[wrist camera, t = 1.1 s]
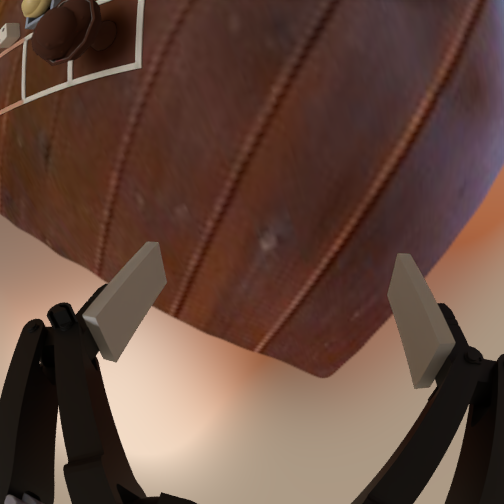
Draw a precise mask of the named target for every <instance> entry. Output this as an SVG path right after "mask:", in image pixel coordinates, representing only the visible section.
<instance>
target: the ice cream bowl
mask: <svg viewBox="0 0 504 504" xmlns="http://www.w3.org/2000/svg"><path fill="white" fill-rule="evenodd" d="M116 33H117V30H116V24H115V23H113V22H111V21H110V20H107V21H103V22H102V20H101V14H100V7H99V5H98V3H97V2H96V1H94V0H61V2H60V3H59V4H58V5H57V6H56V7H54V8H52V9H50V10H48V11H47V12H46V13H45V14H44V15H43V16H42V17H41V18H40V20H39V22H38V23H37V25H36V27H35V28H34V31H33V34H32V47H33V50H34V51H35V53H36V54H37V55H39V56H40V57H41V58H42V59H44V60H45V61H46V62H48V63H49V64H50V65H51V66H53V65H57V64H61V63H64V62H68V61H71V60H75V59H77V58H79V57H80V56H81V55H82V54H83V53H84V52H85V51H86V50H87V49H88V48H89V47H90V46H91V47H92V48H93V49H95V50H96V51H99V50H104V49H106V48H107V47H108V46H109V45H110V44H111V43H112V42H113V41H114V38H115V36H116Z"/></svg>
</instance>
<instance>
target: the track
mask: <svg viewBox="0 0 504 504" xmlns="http://www.w3.org/2000/svg"><path fill="white" fill-rule="evenodd" d="M109 1H111V0H98V1H96V2H97V3H98V5H101V4H103V3H106V2H109ZM144 5H145V0H138V10H137V25H136V50H135V63H132V64H128V65H123V66H119V67H115V68H111V69H108V70H104V71H100V72H97V73H93V74H90V75H87V76H83V77H80V78H77V79H74V80H73V60H71V61H68V82H65V83H62V84H60V85H57V86H54V87H52V88H49V89H47V90H44V91H42V92H39V93H37V94H34V95H32V96H30V97H27V98H26V55H27V42H28V40H29V39H30V38H32V34H33V33H31V34H29V35H28V36H26V37H25V38H23V39H21V40H20V41H18V42H17V43H15V44H14V45H12V46H11V47H9V48H8V49H6V50H5V51H3V52H2V53H1V54H0V58H1V57H2V56H4V55H5V54H7V53H8V52H10V51H11V50H13V49H14V48H16V47H17V46H19V45H21V44H22V43H24V45H23V60H22V100H21V101H18V102H16V103H14V104H12V105H10V106H8V107H6V108H4V109H2V110H0V115H1V114H3V113H5V112H7V111H10V110H12V109H14V108H16V107H18V106H21V105H23V104H25V103H28V102H30V101H32V100H35V99H37V98H40V97H42V96H45V95H48V94H50V93H53V92H56V91H59V90H61V89H64V88H67V87H70V86H73V85H77V84H80V83H83V82H86V81H90V80H93V79H97V78H101V77H104V76H108V75H112V74H116V73H121V72H125V71H130V70H134V69H139V68H142V43H143V20H144Z"/></svg>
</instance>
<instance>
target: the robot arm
mask: <svg viewBox="0 0 504 504" xmlns="http://www.w3.org/2000/svg"><path fill="white" fill-rule="evenodd" d="M166 283H167V281H166V276H165V272H164V267H163V262H162V257H161V252H160V247H159V242H146V243H145V244H144V245H143V247H142V248H141V249H140V250H139V251H138V252H137V253H136V254H135V255H134V256H133V257H132V258H131V259H130V260H129V262H128V263H127V264H126V265H125V266H124V267H123V268H122V269H121V270H120V271H119V273H118V274H117V275H116V276H115V277H114V278H113V279H112V280H111V282H110V283H109V284H105V285H103V286H102V287H100V288H98V289H97V291H96V292H95V293H94V294H93V296H92V297H90V299H89V300H88V301H87V302H86V303H85V304H84V305H83V307H82V308H81V309H80V310H79V311H78V313H77V314H76V315H75V313H74V311H73V309H72V307H71V305H70V304H68V303H59V304H57V305H55V306H53V307H52V308H51V309H50V310H49V311H48V313H47V317H48V319H49V321H50V323H51V325H52V327H45V325H44V323H43V321H42V320H40V319H33V320H31V321H29V322H28V323H27V324H26V325H25V326H24V328H23V330H22V332H21V335H20V337H19V340H18V343H17V346H16V348H15V351H14V354H13V357H12V360H11V363H10V366H9V370H8V373H7V376H6V380H5V383H4V386H3V390H2V394H1V398H0V504H53V502H54V459H55V438H56V424H57V414H58V405H59V412H60V419H61V425H62V431H63V437H64V442H65V447H66V452H67V456H68V464H66V465H64V468H63V471H64V477H65V480H66V484H67V488H68V492H69V495H70V498H71V502H72V504H197V503H195V502H193V501H191V500H187V499H183V498H179V497H176V496H172V495H169V494H165V493H162V492H161V494H160V497H146V495H145V493H144V491H143V490H142V488H141V487H140V485H139V484H138V483H137V481H136V479H135V477H134V475H133V473H132V470H131V468H130V466H129V463H128V460H127V458H126V455H125V452H124V449H123V447H122V444H121V441H120V438H119V435H118V432H117V429H116V426H115V423H114V420H113V416H112V413H111V410H110V406H109V403H108V399H107V395H106V392H105V388H104V384H103V380H102V375H101V371H100V367H99V362H98V359H97V357H96V355H97V353H98V352H99V351H100V353H101V355H102V357H103V358H104V359H106V360H109V361H113V362H117V360H118V359H119V357H120V355H121V354H122V352H123V351H124V349H125V347H126V346H127V344H128V342H129V340H130V339H131V337H132V336H133V334H134V333H135V331H136V329H137V328H138V326H139V324H140V323H141V321H142V320H143V318H144V317H145V315H146V314H147V312H148V310H149V309H150V307H151V306H152V304H153V303H154V301H155V300H156V298H157V297H158V295H159V294H160V292H161V290H162V289H163V287H164V286H165V284H166ZM387 296H388V299H389V302H390V305H391V308H392V311H393V314H394V317H395V320H396V323H397V327H398V330H399V333H400V337H401V339H402V343H403V347H404V350H405V354H406V357H407V361H408V365H409V369H410V373H411V377H412V381H413V385H414V388H415V389H418V388H428V387H430V386H431V384H432V383H433V381H434V380H436V383H437V387H436V389H435V390H434V391H433V393H432V394H431V396H430V397H429V399H428V402H427V404H426V406H425V408H424V409H423V411H422V412H421V414H420V416H419V417H418V419H417V420H416V422H415V423H414V425H413V426H412V428H411V429H410V431H409V432H408V434H407V435H406V437H405V438H404V440H403V441H402V442H401V444H400V445H399V447H398V448H397V449H396V451H395V452H394V454H393V455H392V456H391V457H390V459H389V460H388V462H387V463H386V464H385V465H384V466H383V468H382V469H381V470H380V471H379V473H378V474H377V475H376V476H375V477H374V479H373V480H372V481H371V482H370V483H369V484H368V486H367V487H366V488H365V489H364V490H363V491H362V492H361V493H360V495H359V496H358V497H357V498H356V499H355V500H354V501H353V502H352V503H351V504H413V503H414V502H415V500H416V499H417V498H418V496H419V495H420V493H421V492H422V490H423V489H424V487H425V486H426V484H427V483H428V481H429V480H430V478H431V477H432V475H433V473H434V472H435V470H436V468H437V467H438V465H439V463H440V461H441V460H442V458H443V456H444V454H445V453H446V451H447V449H448V447H449V445H450V443H451V441H452V439H453V437H454V435H455V433H456V431H457V429H458V427H459V425H460V423H461V421H462V419H463V416H464V414H465V412H466V410H467V407H468V405H469V404H470V405H469V412H468V418H467V424H466V429H465V434H464V439H463V443H462V448H461V452H460V456H459V460H458V463H457V467H456V471H455V474H454V478H453V481H452V484H451V487H450V490H449V493H448V496H447V499H446V501H445V504H504V354H502V355H501V356H500V357H499V358H498V360H497V361H492V360H486V359H483V356H482V354H481V353H480V352H479V351H478V350H477V349H476V348H474V347H471V346H469V345H468V343H467V341H466V339H465V337H464V335H463V333H462V330H461V328H460V327H459V326H458V322H457V320H456V319H455V316H454V315H453V312H452V311H451V309H450V308H448V306H446V305H445V304H444V303H437V302H436V300H435V298H434V296H433V294H432V293H431V291H430V289H429V287H428V285H427V283H426V281H425V279H424V277H423V276H422V274H421V272H420V270H419V269H418V267H417V265H416V263H415V262H414V260H413V258H412V256H411V255H410V254H404V253H397V257H396V262H395V266H394V270H393V274H392V278H391V282H390V286H389V290H388V293H387Z"/></svg>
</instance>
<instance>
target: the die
mask: <svg viewBox="0 0 504 504" xmlns="http://www.w3.org/2000/svg"><path fill="white" fill-rule="evenodd" d="M19 38H20V26H19V23H6V24H5V25H4V26H3V27H2V28H1V29H0V48H9V47H11V46H12V45H13V44H14V43H15V42H16V41H17V40H18V39H19Z"/></svg>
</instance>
